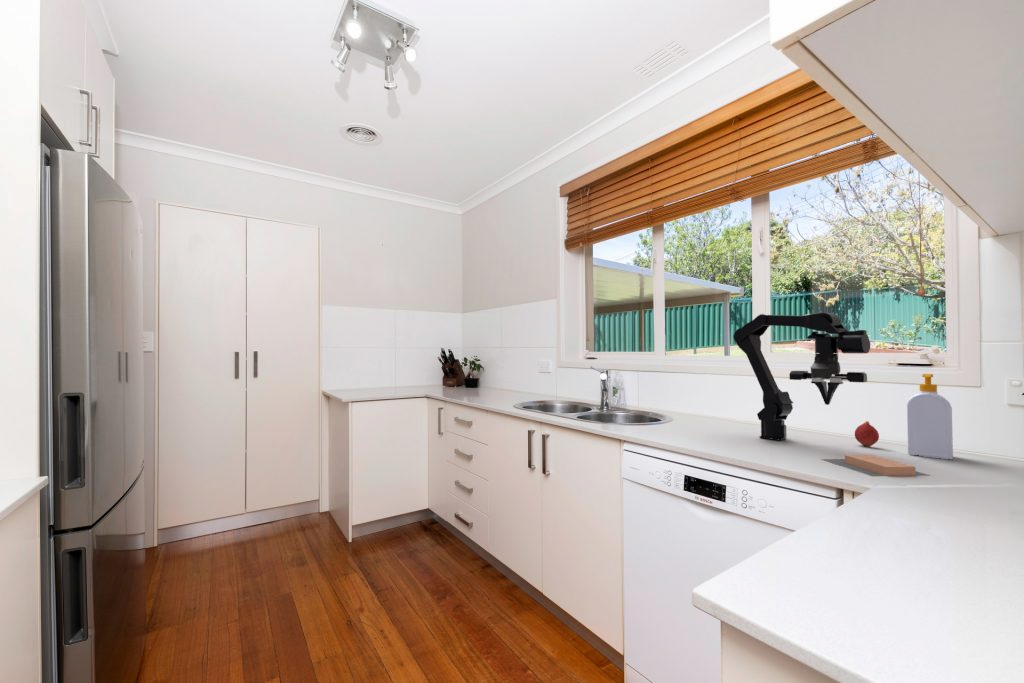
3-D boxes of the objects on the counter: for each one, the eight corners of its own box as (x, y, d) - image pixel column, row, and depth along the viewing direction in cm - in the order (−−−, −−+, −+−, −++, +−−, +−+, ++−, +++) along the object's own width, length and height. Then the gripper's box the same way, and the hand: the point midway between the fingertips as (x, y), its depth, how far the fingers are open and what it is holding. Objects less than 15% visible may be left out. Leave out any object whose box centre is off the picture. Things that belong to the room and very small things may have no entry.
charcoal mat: (820, 460, 117) (820, 459, 117) (870, 460, 118) (870, 458, 118) (872, 477, 101) (872, 475, 101) (930, 477, 102) (930, 475, 102)
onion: (851, 446, 135) (850, 420, 135) (860, 444, 138) (860, 419, 138) (873, 450, 130) (873, 423, 130) (883, 448, 133) (882, 421, 133)
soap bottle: (908, 455, 123) (906, 373, 124) (908, 451, 129) (906, 373, 129) (953, 460, 117) (951, 374, 118) (951, 456, 123) (949, 374, 123)
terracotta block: (844, 454, 113) (886, 466, 101) (870, 454, 114) (915, 466, 102) (844, 462, 113) (886, 475, 101) (870, 462, 114) (915, 475, 102)
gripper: (783, 353, 136) (784, 404, 136) (859, 353, 122) (860, 409, 122) (794, 353, 144) (795, 401, 143) (866, 353, 130) (868, 406, 129)
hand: (827, 404), depth 134 cm, fingers closed
